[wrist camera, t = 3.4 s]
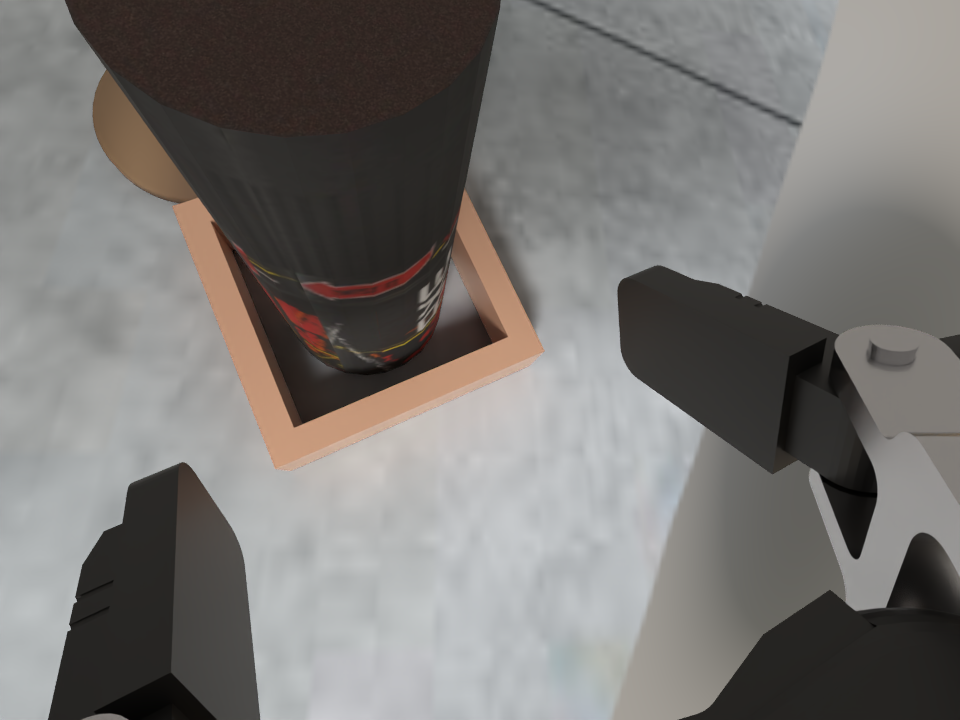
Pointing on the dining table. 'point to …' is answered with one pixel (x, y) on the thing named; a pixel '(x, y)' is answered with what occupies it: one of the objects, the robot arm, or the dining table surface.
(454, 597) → the dining table surface
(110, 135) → the coaster
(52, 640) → the dining table surface
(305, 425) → the orange square frame
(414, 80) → the deodorant
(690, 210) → the dining table surface
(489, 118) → the dining table surface
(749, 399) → the robot arm
